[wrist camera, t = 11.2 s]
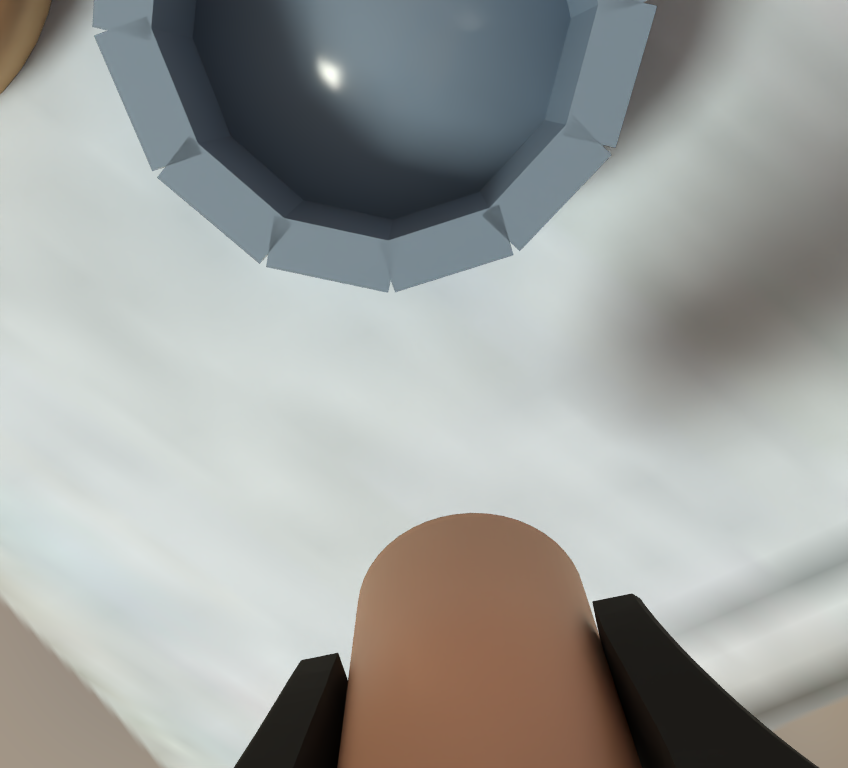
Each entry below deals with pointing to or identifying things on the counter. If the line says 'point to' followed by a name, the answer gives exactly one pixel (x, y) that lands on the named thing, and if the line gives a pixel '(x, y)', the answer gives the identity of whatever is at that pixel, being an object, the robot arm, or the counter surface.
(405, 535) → the peg
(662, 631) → the robot arm
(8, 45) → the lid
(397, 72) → the bowl
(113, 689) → the counter surface
